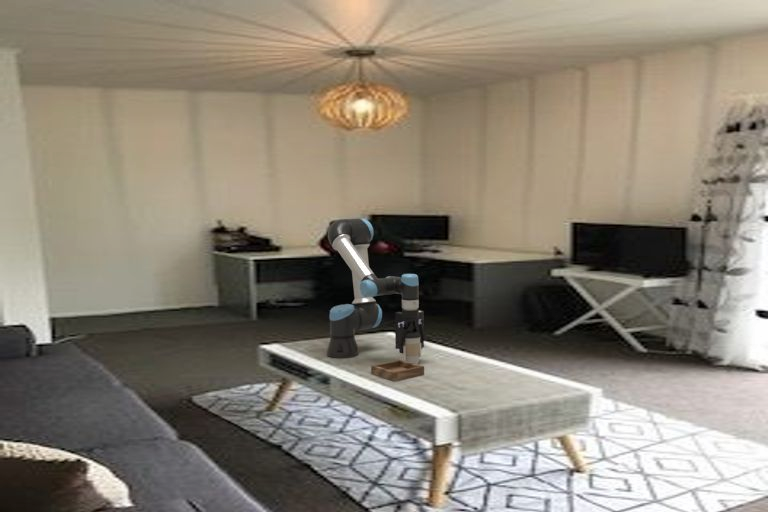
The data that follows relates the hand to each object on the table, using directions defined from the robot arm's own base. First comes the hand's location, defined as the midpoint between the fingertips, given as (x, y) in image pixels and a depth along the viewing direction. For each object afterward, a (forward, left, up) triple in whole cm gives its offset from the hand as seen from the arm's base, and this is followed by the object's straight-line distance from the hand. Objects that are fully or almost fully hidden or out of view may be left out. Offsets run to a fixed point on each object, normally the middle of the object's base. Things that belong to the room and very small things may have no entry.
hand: (410, 358), depth 312 cm
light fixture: (-25, +21, -3) cm, 33 cm away
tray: (+10, -16, -2) cm, 19 cm away
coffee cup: (0, 0, -3) cm, 3 cm away
